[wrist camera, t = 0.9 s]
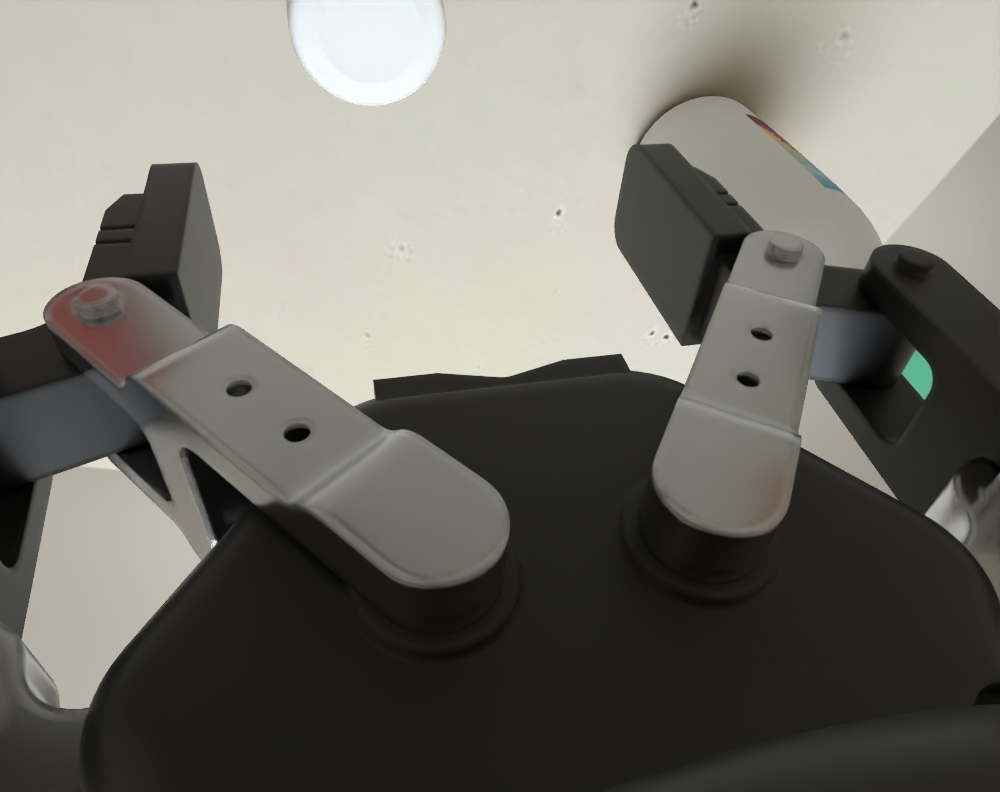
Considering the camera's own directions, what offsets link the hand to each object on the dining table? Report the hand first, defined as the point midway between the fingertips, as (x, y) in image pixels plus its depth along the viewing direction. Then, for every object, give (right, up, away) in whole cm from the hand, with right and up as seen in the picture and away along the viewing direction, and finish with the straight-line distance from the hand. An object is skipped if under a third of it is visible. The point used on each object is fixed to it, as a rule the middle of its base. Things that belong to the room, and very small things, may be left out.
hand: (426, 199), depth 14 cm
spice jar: (-5, +16, +16) cm, 24 cm away
